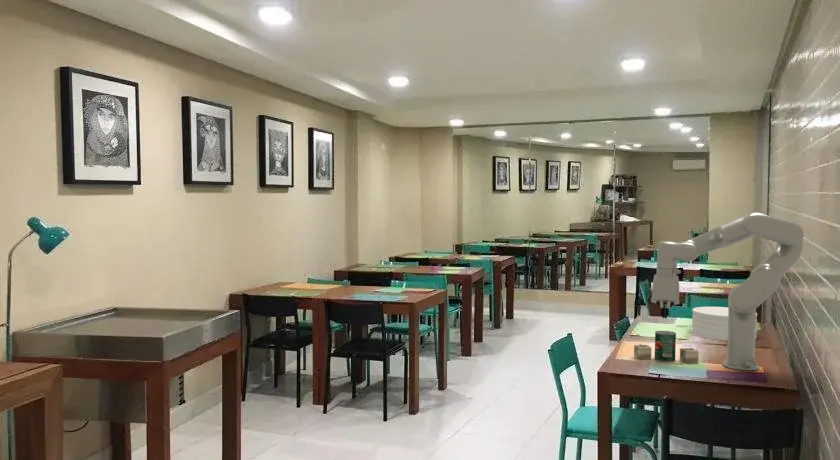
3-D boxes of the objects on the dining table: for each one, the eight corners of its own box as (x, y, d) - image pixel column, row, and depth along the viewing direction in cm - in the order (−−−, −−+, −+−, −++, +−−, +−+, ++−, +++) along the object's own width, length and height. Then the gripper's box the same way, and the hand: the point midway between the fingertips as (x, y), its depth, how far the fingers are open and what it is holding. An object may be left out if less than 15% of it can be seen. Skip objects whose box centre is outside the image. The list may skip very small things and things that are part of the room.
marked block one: (698, 363, 257) (698, 350, 257) (686, 363, 256) (686, 350, 256) (691, 360, 262) (692, 347, 262) (679, 360, 261) (680, 347, 261)
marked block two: (651, 359, 262) (651, 347, 262) (639, 360, 262) (639, 347, 262) (645, 356, 267) (645, 344, 267) (633, 357, 267) (634, 344, 267)
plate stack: (737, 343, 293) (737, 318, 293) (680, 333, 316) (680, 309, 315) (767, 336, 310) (768, 312, 309) (711, 327, 332) (712, 304, 332)
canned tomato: (650, 358, 265) (650, 331, 264) (665, 356, 267) (666, 330, 267) (663, 362, 257) (664, 335, 257) (679, 361, 260) (680, 333, 259)
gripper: (686, 272, 262) (684, 317, 263) (646, 270, 267) (644, 314, 268) (687, 274, 255) (684, 321, 256) (646, 272, 260) (644, 317, 261)
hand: (664, 317), depth 262 cm, fingers closed
